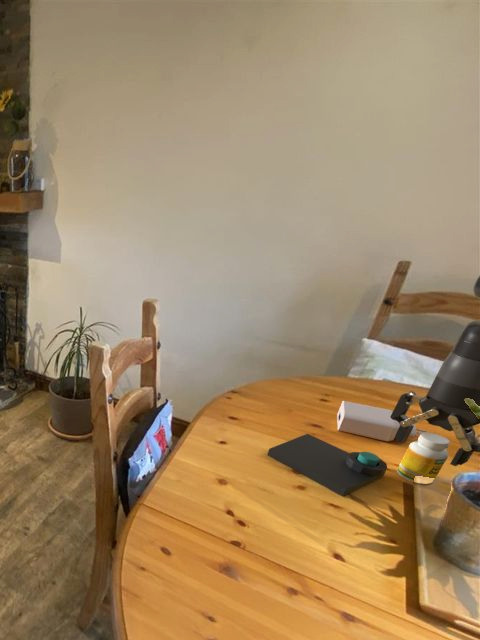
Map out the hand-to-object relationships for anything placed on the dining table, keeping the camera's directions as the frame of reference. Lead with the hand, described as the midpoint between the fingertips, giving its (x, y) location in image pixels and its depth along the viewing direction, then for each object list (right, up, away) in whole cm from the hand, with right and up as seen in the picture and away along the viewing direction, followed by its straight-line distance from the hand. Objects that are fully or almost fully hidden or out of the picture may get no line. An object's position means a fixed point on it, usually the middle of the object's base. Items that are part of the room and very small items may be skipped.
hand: (427, 452), depth 82 cm
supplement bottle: (0, -6, +3) cm, 6 cm away
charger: (+7, +2, +17) cm, 18 cm away
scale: (-14, -4, +7) cm, 17 cm away
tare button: (-9, -2, +3) cm, 10 cm away
